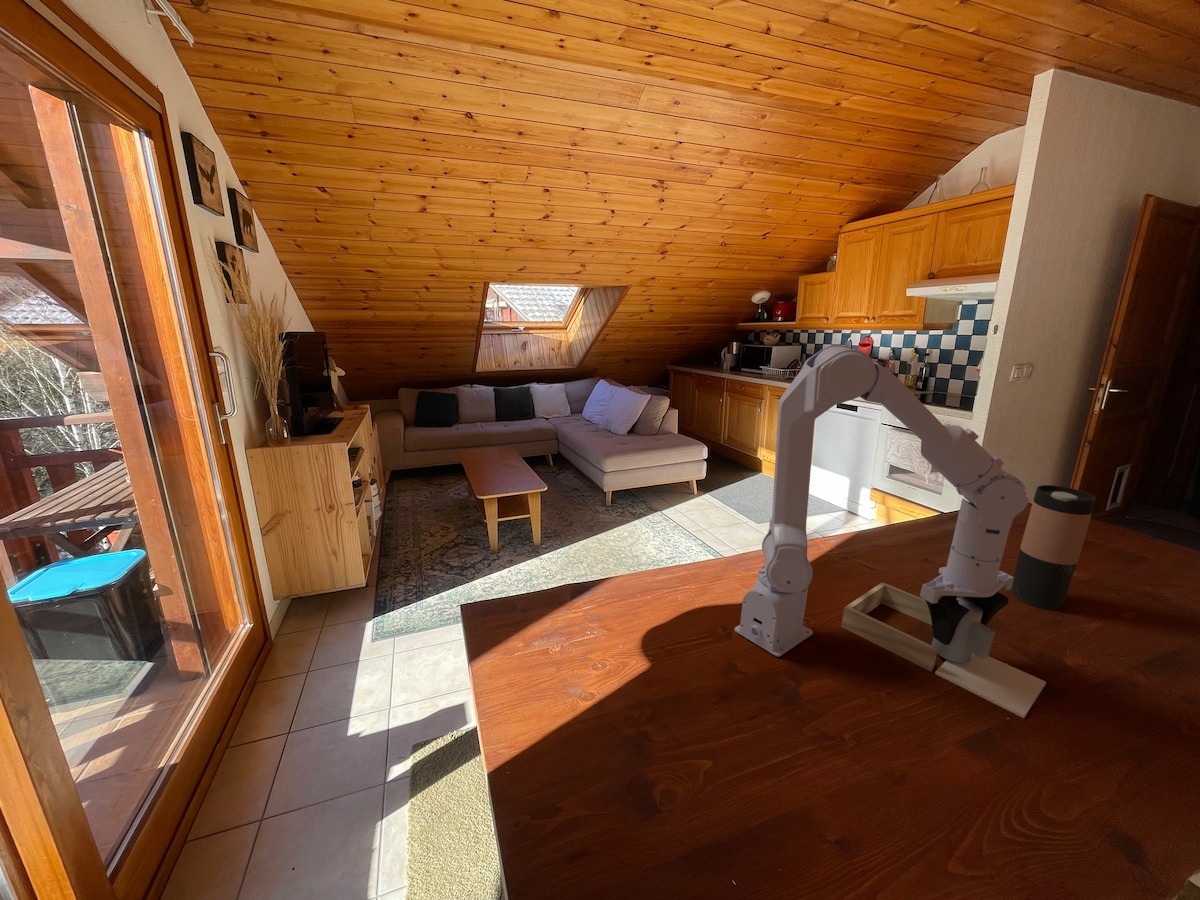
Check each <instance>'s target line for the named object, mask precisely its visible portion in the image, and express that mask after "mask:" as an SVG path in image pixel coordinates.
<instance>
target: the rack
mask: <svg viewBox="0 0 1200 900" xmlns="http://www.w3.org/2000/svg"><path fill="white" fill-rule="evenodd" d="M881 604H882V605H884V606H886V607H889V608H891V609H893V610H896V611H897V612H901V613H902V614H904V615H907V616H909V617H911V618H913V619H916V620H918V621H921V622H923V623H925V624H927V625H930V626H932V621H931V615H930V611H929V608H928V605H927V603H926V600H925V599H924V598H922V597H920V596H917V595H915V594H912V593H909V592H907V591H905V590H902V589H901V588H897V587H895V586H893V585H890V584H888V583H885V582H880V583H879V584H877V585H876V586H875V587H873V588H871V589H870V590H869V591H867V592H865V593H864V594H862V595H861V596H858V598H856V599H855V600H853V601H852V602H850V603H848V605H846V606H844V607H843V608H844V609H843V614H842V619H841V620H842V621H841V628H843V629H845V630H847V631H849V632H850V633H853V634H855V635H857V636H859V637H861V638H862V639H865V640H867V641H869V642H871V643H873V644H875V645H876V646H879V647H880V648H883V649H885V650H887V651H889V652H890V653H893V654H895V655H897V656H898V657H901V658H903V659H905V660H907V661H909V662H911V663H912V664H914V665H917V666H919V667H920V668H922V669H925V670H926V671H929V672H933V671H934V668H935V663H936V659H937V655H938V654H937V651H938V648H936V647H934V646H932V644H930V643H928V642H925V641H923V640H921V639H919V638H917V637H914V636H912V635H910V634H908V633H906V632H904V631H901V630H900V629H898V628H896V627H893V626H891V625H888V623H885V622H883V621H880V620H878V619H876V618H874V617H872V616H870V615H868V614H869V613H870V612H872V611H873V610H874V609H876V608H877V607H878V606H881Z"/></svg>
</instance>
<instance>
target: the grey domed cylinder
mask: <svg viewBox="0 0 1200 900" xmlns="http://www.w3.org/2000/svg"><path fill="white" fill-rule="evenodd" d="M956 600H959V602H958V603H959V604H961V605H962V606H964V607H966V608H968V609H969V610H970V611H969V612H967V613H966V614H965V615H964V617H963V618H962V619H961V621H960V622H959V624H958V626H957V628H956V631H955V634H954V636H953V639H952V641H951V642H950V644H949V645H944V644H942V643H941V642H940V641H938V640H937V639H935V638H934V637H932V638H933V639H932V641H931V642H932V643H931V645H932V646H934V647H936V648H938V651H937V655H939V656H940V657H942V658H944V659H945V660H947V659H948V660H951V661H954V662H960V663H965V662H968V661H970V660H971V656H972V653H974V654H975V655H976V656H978V657H979V658H981V659H982V658H988V656H989V657H990V652H991V649H992V646H993V641H994V637H995V634H996V631H994V630H992V629H991V628H989V627H988V626H987V625H986V626H985V625H983V624H982V623H980V622H981V618H982V614H983V611H982V609H981V608H980V607H979V606H977V605H976V604H974V603H972V602H970V601H967V600H964V599H963V598H960V597H957V599H956Z"/></svg>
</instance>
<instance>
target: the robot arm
mask: <svg viewBox="0 0 1200 900" xmlns="http://www.w3.org/2000/svg"><path fill="white" fill-rule="evenodd" d="M857 398H862V399H863V400H864V401H866V402H868V403H875V404H880V405H882V407H884V408H885V409H886V410H887V411H888V412H890V413H891V414H892V416H894V417H895V419H897V420H898V421H899V422H901V424H903V425H904V426H905V427H906V428H907V429H908V430H909V431H911V432H912V433H913V434H914V435H915V436H916V437H917V438H918V439H919V440H920V442H921V443H920V454H921V457H923V458H924V459H925V460H926V461H927V462H928V463H929V464H930V465H931V466H932V467H933V469H936V471H937V472H939V474H940V475H941V476H943V478H945V480H947V481H948V482H949V483H950V484H951V485H952V486H953V487H954V488H955V490H956V492H957V494H958V495H960V496H962V497H963V498H962V499H961V501H960V507H959V511H958V515H957V520H956V525H955V528H954V532H953V537H952V543H951V545H950V550H949V554H948V559H947V563H946V566H942V567H939V569H938V573H939V575H938V576H937V577H935V578H934V579H933V580H931V581H929V582H926V583H922V586H921V589H920V594H919V597H920V598H922V599H925V600H926V603H927V605H928V608H929V611H930V615H931V621H932V625H931V627H932V636H933V637H934V638H935V639H937V640H938V641H940V642H941V643H942V644H944V645H949V644H950V642H951V641H952V639H953V636H954V634H955V631H956V628H957V626H958V624H959V622H960V621H961V619H962V618H963V617H964V615H965V614H966V613H967V612H969V611H970V610H969V609H968V608H966V607H964V606H962V605H961V604H959V603H958V602H959V600H956V599H957V598H958V597H962V599H964V600H967V601H970V602H972V603H974V604H976V605H977V606H979V607H980V608H981V609H982V611H983V614H982V618H981V622H980V623H982V624H983V625H985V626H986V627H987V625H988V624H989V622H990V621H991V620H992V619H993V617H994V616H995V615H996V614H997V613H998V612H999V611H1001V610H1002V609H1003V608H1005V607H1006V606H1007V605H1008V604H1009V601H1010V599H1009V597H1008V596H1006V595H1004V594H1002V593H1001V592H1000V590H1002V589H1003V590H1005V591H1008V590H1009V591H1011V588H1012V584H1013V580H1014V576H1012V575H1010V574H1008V573H1006V572H1004V571H1001V570H1000V567H1001V564H1002V561H1003V556H1004V552H1005V548H1006V545H1007V540H1008V537H1009V533H1010V530H1011V529H1010V528H1011V527H1012V525H1013V520H1014V518H1016V517H1017V515H1019V514H1020V513H1022V512H1023V511H1024V510H1025V509H1026V507H1027V506H1028V504H1029V502H1030V498H1028V497H1027V491H1025V490H1026V487H1025V485H1024V483H1023V482H1022V481H1021V480H1020V479H1019V478H1017V477H1016V476H1014V475H1013V474H1011V473H1009V472H1008V471H1006V470H1004V469H1003V468H1002V467H1003V465H1004V463H1005V462H1004V461H1003V460H1002V459H1001V458H1000V457H999V456H996V455H993V456H992V455H991V453H989V452H988V451H987V450H986V449H985V448H984V447H983V446H982V445H981V444H980V443H978V441H976V440H978V439H979V438H980V437H979V435H978V434H977V433H976V432H975V431H974V430H972V429H970V428H965V429H964V428H963V427H962V426H961V425H954V424H953V425H949V424H947V425H946V424H943V423H941V421H940V420H939V419H938V418H937V417H936V416H935V414H933V413H932V412H931V411H930V409H929V408H927V406H926V405H924V403H923V402H921V400H920V399H919V398H918V397H917V396H916V395H915V394H914V393H913V392H912V391H911V390H910V389H909V388H908V387H907V386H906V385H905V383H904V382H902V381H901V380H900V379H899V378H898V377H897V376H896V375H895V374H894V373H893V372H891V371H890V370H889V369H887V368H886V367H884V366H883V365H881V364H880V363H877V362H876V361H874V360H873V359H872V358H871V356H870V355H868V354H867V353H866V352H863V351H862V350H858V349H854V348H853V349H852V348H851V347H848V346H847V345H843V344H831V345H827V346H825V347H823V348H822V349H821V350H819V351H818V352H816V353H814V354H813V355H811V356H810V357H808V358H807V359H806V360H805V362H804V364H803V365H802V367H801V369H800V370H799V372H798V373H797V375H796V376H795V378H794V379H793V381H792V382H791V383H790V384H789V386H788V387H787V388H786V390H785V391H784V393H783V394H782V395H781V397H780V398H779V402H778V406H777V407H778V409H777V410H778V411H777V425H776V426H777V428H776V444H775V445H776V446H775V459H774V460H775V462H774V476H773V477H774V478H773V491H772V492H773V494H772V495H773V497H772V510H771V513H772V515H771V518H770V520H769V528H768V530H767V533H766V534H765V536H764V537H763V540H762V542H761V550H762V554H763V557H764V563H763V565H762V566H761V567H760V568H759V570H758V574H757V575H758V576H757V579H756V583H755V584H754V585H753V587H752V588H751V589H750V590H749V591H748V592H746V593H745V595H744V596H743V598H742V604H741V605H742V606H741V615H740V623H739V625H737V626H735V627H734V632H735V633H737V634H739V635H741V636H742V637H744V638H745V639H747V640H748V641H751V642H753V643H754V644H756V645H757V646H759V647H760V648H762V649H764V650H766V651H767V652H769V653H770V654H772V655H773V656H775V657H778V658H779V657H781V656H783V655H784V654H786V653H787V652H788V651H790V650H792V649H794V647H796V646H797V645H799V644H800V643H802V642H803V641H805V640H806V639H808V638H810V637H811V636H812V635H813V634H814V631H813V630H812V629H810V628H809V627H807V626H805V625H803V623H804V617H805V612H806V611H805V609H806V605H807V604H806V603H807V597H808V591H809V585H810V583H811V582H812V579H813V576H814V574H813V573H814V572H813V571H814V570H813V567H812V565H811V563H810V561H809V558H808V538H807V537H808V536H807V535H808V534H807V520H808V506H809V496H810V495H809V494H810V484H811V483H810V479H811V469H812V467H811V466H812V455H813V443H814V432H815V428H814V427H815V420H816V419H817V418H819V417H821V416H822V415H823V414H824V413H826V412H827V411H828V410H830V409H831V408H833V407H834V406H837V405H840V404H842V403H845V402H848V401H849V402H850V401H852V400H855V399H857ZM933 637H932V638H933Z"/></svg>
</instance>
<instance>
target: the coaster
mask: <svg viewBox="0 0 1200 900" xmlns="http://www.w3.org/2000/svg"><path fill="white" fill-rule="evenodd" d="M934 675H937V676H938V677H940V678H943V679H944V680H947V681H948V682H950V683H953V684H954V685H956V686H959V687H960V688H962V689H964V690H967V691H969V692H971V693H972V694H975V695H976V696H978V697H981V698H982V699H985V700H986V701H988V702H991V703H992V704H994V705H996V706H999V707H1000V708H1001V709H1002V708H1003V709H1004V710H1006V711H1008V712H1010V713H1013V714H1014V715H1016V716H1018V717H1020V718H1022V719H1025V717H1026V716H1027V715H1028V713H1029V711H1030V709H1031V708H1032V706H1033V705H1034V703H1035V701H1036V700H1037V698H1038V697H1039V696H1040V694H1041V692H1042V691H1043V690H1044V687H1045V686H1046V684H1047V681H1045V680H1043V679H1040V678H1038V677H1036V676H1034V675H1032V674H1029V673H1027V672H1025V671H1023V670H1020V669H1019V668H1016V667H1014V666H1011V665H1010V664H1007V663H1005V662H1002V661H1000V660H999V659H996V658H994V657H991V656H990V655H989V656H988V658H982V659H981V658H979V657H978V656H976V655H975V654H974V653H972V656H971V660H970V661H968V662H965V663H960V662H954V661H951V660H948V659H945V661H944V662H943V663H942V664H941V665H940V666H939V667H938V668H937V669H936V670H935V672H934Z"/></svg>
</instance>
